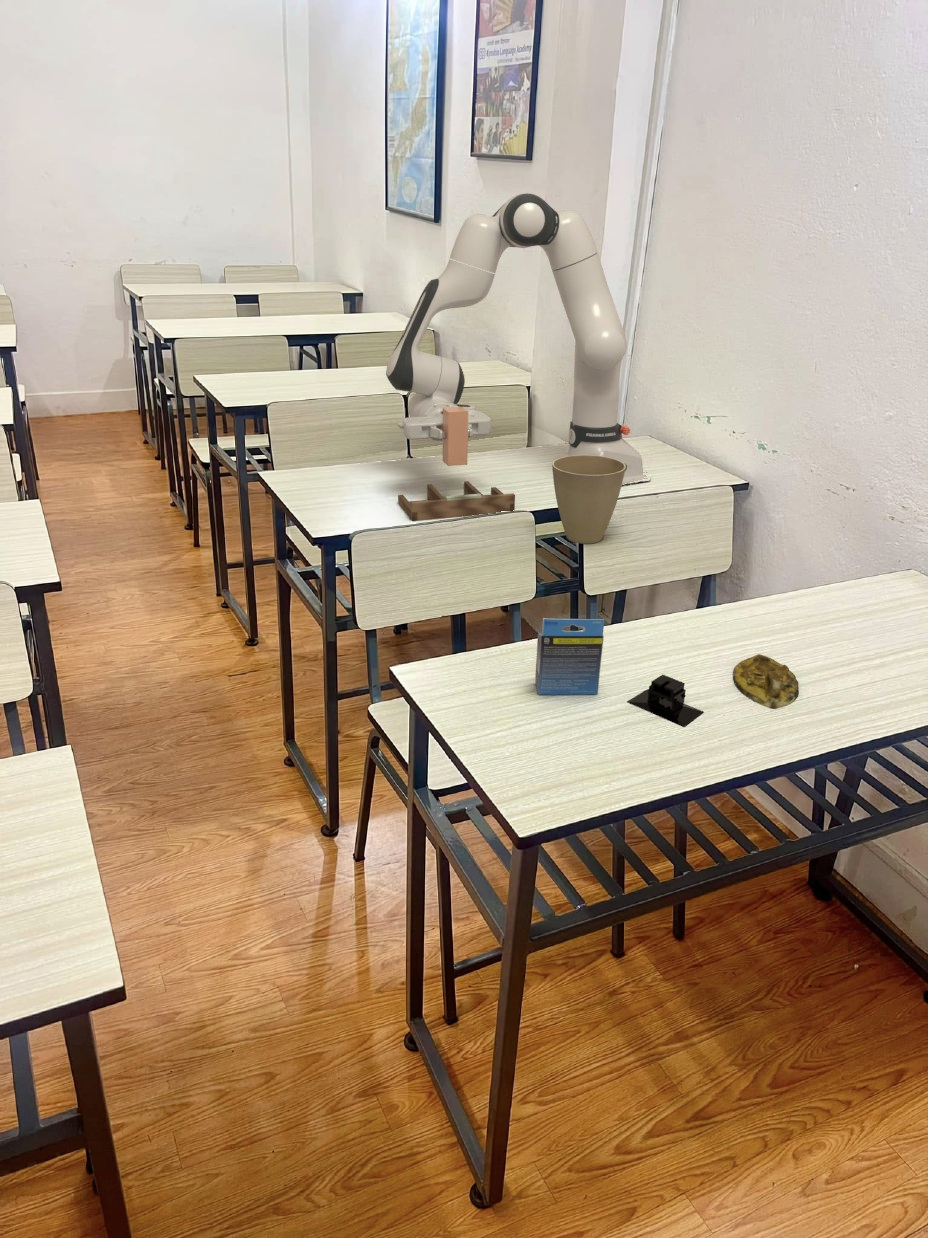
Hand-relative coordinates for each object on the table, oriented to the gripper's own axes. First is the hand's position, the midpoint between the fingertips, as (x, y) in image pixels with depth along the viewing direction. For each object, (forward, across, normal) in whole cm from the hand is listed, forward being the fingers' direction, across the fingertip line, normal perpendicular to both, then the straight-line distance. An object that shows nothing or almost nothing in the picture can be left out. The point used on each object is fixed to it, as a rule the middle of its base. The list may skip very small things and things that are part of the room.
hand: (456, 434), depth 199 cm
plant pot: (+27, +20, +17) cm, 37 cm away
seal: (+91, +20, +18) cm, 95 cm away
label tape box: (+85, -9, +17) cm, 87 cm away
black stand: (+93, +2, +18) cm, 95 cm away
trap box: (0, 0, +17) cm, 17 cm away
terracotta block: (-1, 0, +7) cm, 7 cm away
